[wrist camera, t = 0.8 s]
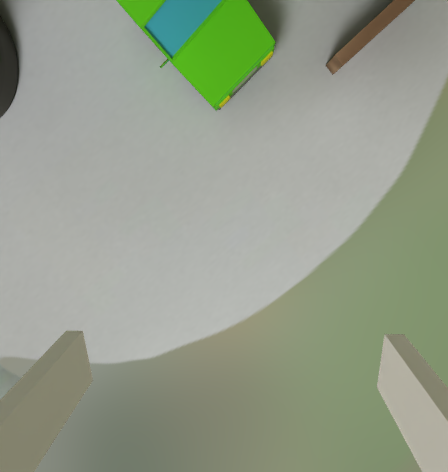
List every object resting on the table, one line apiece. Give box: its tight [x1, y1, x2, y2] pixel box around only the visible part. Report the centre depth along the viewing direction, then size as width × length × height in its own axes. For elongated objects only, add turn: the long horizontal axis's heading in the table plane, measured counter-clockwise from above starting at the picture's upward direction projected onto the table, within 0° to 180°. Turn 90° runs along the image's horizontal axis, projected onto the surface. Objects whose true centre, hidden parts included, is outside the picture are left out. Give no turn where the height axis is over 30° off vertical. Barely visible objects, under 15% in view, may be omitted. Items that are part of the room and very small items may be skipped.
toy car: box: [117, 0, 275, 111], centre depth 26 cm, size 10×13×10 cm
